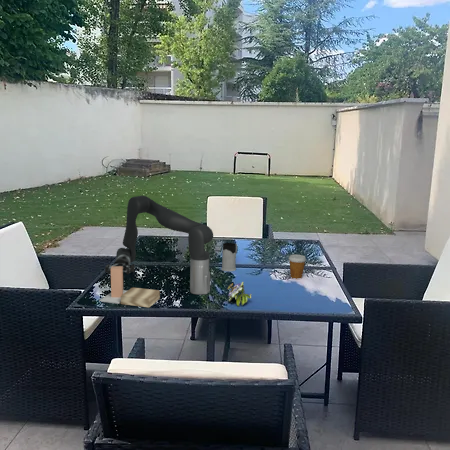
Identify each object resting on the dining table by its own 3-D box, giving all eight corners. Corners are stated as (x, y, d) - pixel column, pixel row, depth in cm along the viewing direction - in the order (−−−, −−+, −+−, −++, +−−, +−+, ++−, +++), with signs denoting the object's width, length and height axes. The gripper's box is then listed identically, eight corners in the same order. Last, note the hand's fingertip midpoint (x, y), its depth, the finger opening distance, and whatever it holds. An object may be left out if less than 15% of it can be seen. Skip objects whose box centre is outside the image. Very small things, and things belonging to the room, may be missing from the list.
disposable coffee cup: (306, 280, 248) (308, 258, 245) (289, 280, 247) (290, 258, 244) (302, 274, 257) (303, 254, 255) (286, 274, 256) (287, 254, 254)
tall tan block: (123, 294, 218) (122, 266, 215) (122, 297, 214) (121, 268, 211) (112, 294, 217) (111, 266, 215) (111, 297, 214) (110, 268, 211)
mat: (134, 292, 222) (134, 291, 222) (118, 303, 207) (118, 302, 207) (115, 290, 225) (115, 289, 225) (99, 301, 210) (99, 300, 209)
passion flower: (230, 312, 214) (225, 288, 219) (252, 307, 215) (247, 283, 220) (230, 307, 204) (225, 281, 208) (254, 302, 205) (248, 277, 209)
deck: (159, 298, 215) (159, 290, 214) (149, 307, 203) (149, 299, 203) (132, 295, 218) (132, 287, 217) (120, 304, 207) (120, 295, 206)
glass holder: (218, 269, 263) (219, 244, 260) (229, 264, 275) (230, 240, 272) (232, 272, 259) (232, 246, 256) (242, 266, 271) (243, 241, 268)
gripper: (108, 256, 234) (103, 265, 219) (136, 256, 236) (133, 265, 220) (108, 270, 236) (103, 280, 220) (136, 270, 237) (133, 279, 222)
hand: (118, 272), depth 220 cm, fingers open, 8 cm apart
